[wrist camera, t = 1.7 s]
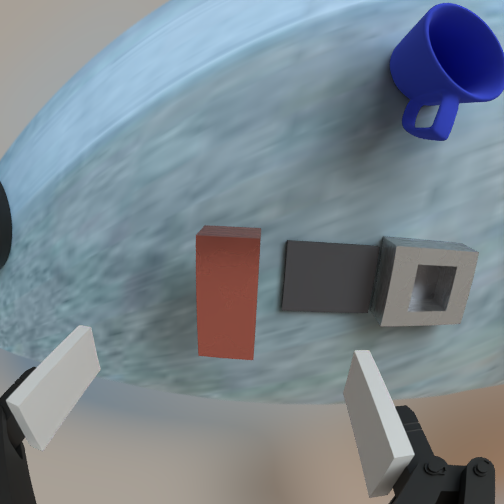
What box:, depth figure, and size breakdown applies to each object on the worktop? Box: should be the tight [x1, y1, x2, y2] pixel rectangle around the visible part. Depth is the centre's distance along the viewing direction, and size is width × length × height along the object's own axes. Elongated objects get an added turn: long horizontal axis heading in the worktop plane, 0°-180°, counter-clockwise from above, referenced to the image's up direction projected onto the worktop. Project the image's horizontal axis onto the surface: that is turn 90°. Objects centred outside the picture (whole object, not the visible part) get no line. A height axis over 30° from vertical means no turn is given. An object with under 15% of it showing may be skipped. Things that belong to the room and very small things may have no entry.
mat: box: [282, 240, 379, 313], centre depth 30 cm, size 9×7×1 cm
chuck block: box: [371, 236, 479, 326], centre depth 28 cm, size 10×8×4 cm
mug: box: [390, 3, 504, 141], centre depth 20 cm, size 8×12×10 cm
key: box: [196, 225, 261, 360], centre depth 26 cm, size 4×9×10 cm, turn 177°
